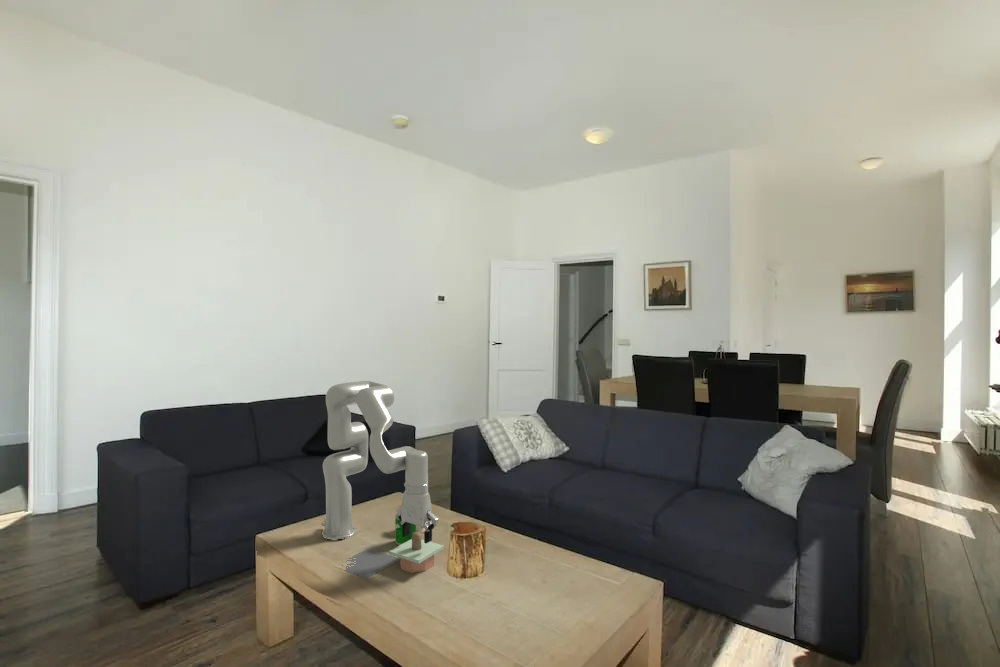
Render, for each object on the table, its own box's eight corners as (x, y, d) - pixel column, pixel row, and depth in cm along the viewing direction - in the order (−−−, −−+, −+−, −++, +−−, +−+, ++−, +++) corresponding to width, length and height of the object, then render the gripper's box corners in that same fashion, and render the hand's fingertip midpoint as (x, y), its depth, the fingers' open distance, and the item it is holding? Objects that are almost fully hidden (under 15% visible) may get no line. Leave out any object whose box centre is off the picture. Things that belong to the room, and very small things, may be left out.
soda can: (418, 540, 198) (418, 508, 197) (413, 548, 190) (413, 516, 190) (398, 539, 198) (398, 508, 198) (392, 548, 191) (392, 515, 190)
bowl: (393, 568, 175) (393, 553, 175) (415, 555, 184) (415, 541, 184) (418, 577, 169) (418, 561, 169) (440, 563, 179) (440, 549, 179)
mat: (333, 567, 175) (333, 566, 175) (368, 550, 189) (368, 548, 189) (367, 580, 167) (367, 578, 167) (401, 560, 181) (401, 559, 181)
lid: (388, 554, 175) (388, 536, 175) (414, 540, 186) (414, 523, 186) (418, 563, 168) (418, 545, 168) (443, 548, 179) (443, 531, 179)
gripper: (389, 487, 178) (390, 536, 178) (429, 496, 168) (429, 548, 169) (405, 481, 184) (405, 529, 184) (444, 489, 175) (444, 540, 175)
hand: (416, 538), depth 177 cm, fingers open, 9 cm apart
